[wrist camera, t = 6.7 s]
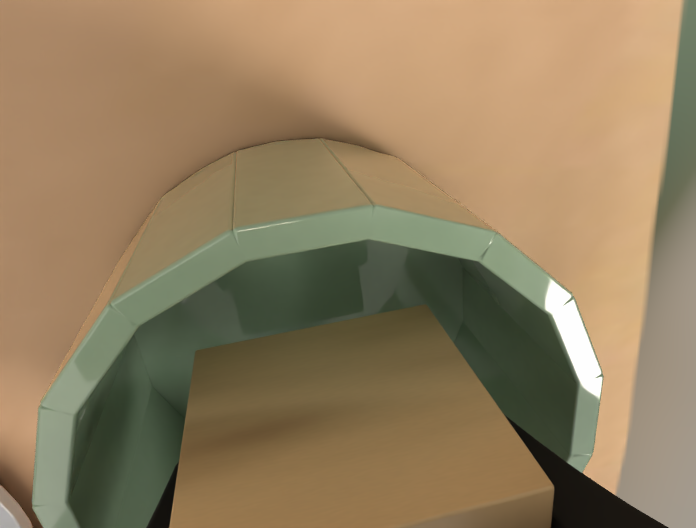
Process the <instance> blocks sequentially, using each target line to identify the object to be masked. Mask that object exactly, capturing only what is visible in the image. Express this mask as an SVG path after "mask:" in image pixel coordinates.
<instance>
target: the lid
mask: <svg viewBox="0 0 696 528" xmlns="http://www.w3.org/2000/svg"><path fill="white" fill-rule="evenodd" d="M0 528H33V526H32V524H31V521H30V519H29V518H28V516H27V515H26V514H25V512H24V511H23V509H22V508H21V506H20V505H19V503H18V502H17V501H16V500H15V499H14V498H13V497H12V496H11V495H10V494H9V493H8V492H7V491H6V490H5V489H4V487H2V486H1V485H0Z"/></svg>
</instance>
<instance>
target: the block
mask: <svg viewBox="0 0 696 528" xmlns="http://www.w3.org/2000/svg"><path fill="white" fill-rule="evenodd" d="M553 500H554V485H553V484H552V482H551V481H550V480H549V478H548V477H547V475H546V474H545V472H544V471H543V470H542V468H541V467H540V465H539V464H538V462H537V461H536V460H535V458H534V457H533V455H532V454H531V452H530V451H529V450H528V448H527V447H526V445H525V444H524V442H523V441H522V440H521V438H520V437H519V435H518V434H517V433H516V431H515V430H514V428H513V427H512V425H511V424H510V423H509V421H508V420H507V418H506V417H505V415H504V414H503V413H502V411H501V410H500V408H499V407H498V405H497V404H496V403H495V401H494V400H493V398H492V397H491V395H490V394H489V393H488V391H487V390H486V388H485V387H484V386H483V384H482V383H481V381H480V380H479V378H478V377H477V376H476V374H475V373H474V371H473V370H472V368H471V367H470V366H469V364H468V363H467V361H466V360H465V358H464V357H463V356H462V354H461V353H460V351H459V350H458V348H457V347H456V346H455V344H454V343H453V341H452V340H451V339H450V337H449V336H448V334H447V333H446V331H445V330H444V329H443V327H442V326H441V324H440V323H439V321H438V320H437V319H436V317H435V316H434V314H433V313H432V311H431V310H430V309H429V307H428V306H427V305H426V304H423V305H419V306H414V307H409V308H404V309H399V310H394V311H389V312H384V313H379V314H374V315H369V316H364V317H359V318H354V319H349V320H344V321H339V322H334V323H329V324H324V325H319V326H314V327H309V328H304V329H299V330H294V331H289V332H284V333H279V334H274V335H269V336H265V337H260V338H255V339H250V340H245V341H240V342H235V343H230V344H225V345H220V346H215V347H210V348H205V349H200V350H196V351H195V357H194V363H193V370H192V377H191V384H190V390H189V397H188V404H187V411H186V418H185V424H184V431H183V438H182V445H181V451H180V458H179V465H178V472H177V478H176V485H175V492H174V499H173V505H172V512H171V519H170V526H169V528H551V521H552V511H553Z"/></svg>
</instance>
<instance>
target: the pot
mask: <svg viewBox="0 0 696 528" xmlns="http://www.w3.org/2000/svg"><path fill="white" fill-rule="evenodd" d="M423 304H426V305H427V306H428V307H429V309H430V310H431V311H432V313H433V314H434V316H435V317H436V319H437V320H438V321H439V323H440V324H441V326H442V327H443V329H444V330H445V331H446V333H447V334H448V336H449V337H450V339H451V340H452V341H453V343H454V344H455V346H456V347H457V348H458V350H459V351H460V353H461V354H462V356H463V357H464V358H465V360H466V361H467V363H468V364H469V366H470V367H471V368H472V370H473V371H474V373H475V374H476V376H477V377H478V378H479V380H480V381H481V383H482V384H483V386H484V387H485V388H486V390H487V391H488V393H489V394H490V395H491V397H492V398H493V400H494V401H495V403H496V404H497V405H498V407H499V408H500V410H501V411H502V413H503V414H505V415H506V416H507V417H508V418H510V419H511V420H512V421H513V422H515V423H516V424H517V425H518V426H520V427H521V428H522V429H523V430H525V431H526V432H527V433H529V434H530V435H531V436H532V437H534V438H535V439H536V440H538V441H539V442H540V443H542V444H543V445H544V446H546V447H547V448H548V449H550V450H551V451H552V452H554V453H555V454H556V455H558V456H559V457H560V458H562V459H563V460H565V461H566V462H567V463H569V464H570V465H571V466H573V467H574V468H576V469H577V470H578V471H580V472H581V473H582V472H583V470H584V469H585V467H586V465H587V463H588V462H589V460H590V458H591V456H592V453H593V450H594V443H595V435H596V428H597V421H598V413H599V406H600V398H601V391H602V384H603V374H602V369H601V367H600V364H599V361H598V359H597V356H596V353H595V351H594V348H593V345H592V343H591V340H590V337H589V335H588V332H587V329H586V327H585V324H584V321H583V319H582V316H581V313H580V311H579V308H578V305H577V303H576V300H575V297H574V296H573V294H572V292H571V291H569V290H568V289H567V288H566V287H564V286H563V285H562V284H561V283H560V282H558V281H557V280H556V279H555V278H553V277H552V276H551V275H550V274H549V273H547V272H546V271H545V270H544V269H542V268H541V267H540V266H539V265H537V264H536V263H535V262H534V261H533V260H531V259H530V258H529V257H528V256H526V255H525V254H524V253H523V252H522V251H520V250H519V249H518V248H517V247H515V246H514V245H513V244H512V243H511V242H509V241H508V240H507V239H506V238H504V237H503V236H502V235H501V234H500V233H498V232H497V231H496V230H494V229H493V228H492V227H490V226H489V225H488V224H486V223H485V222H484V221H482V220H481V219H480V218H478V217H477V216H476V215H474V214H473V213H471V212H470V211H469V210H467V209H466V208H465V207H463V206H462V205H461V204H459V203H458V202H457V201H455V200H454V199H453V198H451V197H450V196H449V195H447V194H446V193H445V192H443V191H442V190H441V189H439V188H438V187H437V186H435V185H434V184H433V183H431V182H430V181H429V180H427V179H426V178H425V177H423V176H422V175H420V174H419V173H418V172H416V171H415V170H414V169H412V168H411V167H410V166H408V165H407V164H406V163H404V162H403V161H402V160H400V159H398V158H397V157H394V156H390V155H386V154H382V153H379V152H376V151H373V150H370V149H367V148H364V147H361V146H358V145H354V144H349V143H343V142H338V141H333V140H328V139H324V138H321V139H319V138H316V139H298V140H286V141H276V142H272V143H267V144H263V145H258V146H253V147H249V148H247V149H244V150H238V151H236V152H232V153H231V154H229V155H228V156H225V157H223V158H221V159H219V160H217V161H215V162H213V163H211V164H209V165H208V166H206V167H204V168H202V169H200V170H199V171H197V172H196V173H194V174H193V175H192V176H190V177H189V178H187V179H186V180H185V181H183V182H182V183H180V184H179V185H178V186H177V187H176V188H174V189H172V190H171V191H169V192H167V193H166V194H165V195H164V196H163V197H162V198H160V200H159V201H158V203H157V204H156V206H155V207H154V209H153V210H152V212H151V213H150V215H149V216H148V218H147V219H146V220H145V222H144V223H143V224H142V226H141V228H140V230H139V231H138V233H137V234H136V236H135V237H134V239H133V240H132V242H131V243H130V245H129V246H128V248H127V249H126V251H125V252H124V254H123V255H122V257H121V258H120V260H119V261H118V263H117V265H116V267H115V269H114V270H113V272H112V274H111V276H110V278H109V279H108V281H107V283H106V285H105V287H104V288H103V290H102V292H101V294H100V295H99V297H98V299H97V301H96V303H95V304H94V306H93V308H92V310H91V312H90V313H89V315H88V317H87V319H86V321H85V322H84V324H83V326H82V328H81V330H80V331H79V333H78V335H77V337H76V339H75V340H74V342H73V344H72V346H71V347H70V349H69V351H68V353H67V355H66V356H65V358H64V360H63V362H62V364H61V365H60V367H59V369H58V371H57V373H56V374H55V376H54V378H53V380H52V382H51V383H50V385H49V387H48V389H47V391H46V392H45V394H44V396H43V398H42V399H41V404H40V405H39V407H38V419H37V433H36V448H35V463H34V477H33V492H32V509H33V511H34V512H35V514H36V516H37V518H38V520H39V521H40V523H41V525H42V527H43V528H146V527H147V525H148V523H149V521H150V519H151V517H152V515H153V513H154V511H155V509H156V507H157V505H158V503H159V501H160V499H161V496H162V494H163V492H164V490H165V488H166V486H167V483H168V481H169V479H170V477H171V475H172V472H173V470H174V468H175V466H176V465H177V463H178V462H179V458H180V451H181V445H182V438H183V431H184V424H185V418H186V411H187V404H188V397H189V390H190V384H191V377H192V370H193V363H194V357H195V351H196V350H200V349H205V348H210V347H215V346H220V345H225V344H230V343H235V342H240V341H245V340H250V339H255V338H260V337H265V336H269V335H274V334H279V333H284V332H289V331H294V330H299V329H304V328H309V327H314V326H319V325H324V324H329V323H334V322H339V321H344V320H349V319H354V318H359V317H364V316H369V315H374V314H379V313H384V312H389V311H394V310H399V309H404V308H409V307H414V306H419V305H423Z"/></svg>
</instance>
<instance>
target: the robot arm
mask: <svg viewBox="0 0 696 528" xmlns="http://www.w3.org/2000/svg"><path fill="white" fill-rule="evenodd" d="M504 415H505V414H504ZM505 417H506V418H507V420H508V421H509V423H510V424H511V425H512V427H513V428H514V430H515V431H516V433H517V434H518V435H519V437H520V438H521V440H522V441H523V442H524V444H525V445H526V447H527V448H528V450H529V451H530V452H531V454H532V455H533V457H534V458H535V460H536V461H537V462H538V464H539V465H540V467H541V468H542V470H543V471H544V472H545V474H546V475H547V477H548V478H549V480H550V481H551V482H552V484H553V485H554V500H553V511H552V521H551V528H668V527H666V526H664V525H663V524H661V523H660V522H658V521H656V520H654V519H653V518H651V517H649V516H648V515H646V514H644V513H642V512H641V511H639V510H637V509H636V508H634V507H633V506H631V505H629V504H627V503H626V502H625V501H623V500H622V499H620V498H618V497H617V496H615V495H614V494H612V493H611V492H609V491H608V490H606V489H605V488H603V487H602V486H600V485H599V484H597V483H596V482H594V481H593V480H591V479H590V478H588V477H587V476H586V475H584V474H583V473H581V472H580V471H578V470H577V469H576V468H574V467H573V466H571V465H570V464H569V463H567V462H566V461H565V460H563V459H562V458H560V457H559V456H558V455H556V454H555V453H554V452H552V451H551V450H550V449H548V448H547V447H546V446H544V445H543V444H542V443H540V442H539V441H538V440H536V439H535V438H534V437H532V436H531V435H530V434H529V433H527V432H526V431H525V430H523V429H522V428H521V427H520V426H518V425H517V424H516V423H515V422H513V421H512V420H511V419H510V418H508V417H507V416H506V415H505ZM178 465H179V462H178V463H177V465H176V466H175V468H174V470H173V472H172V475H171V477H170V479H169V481H168V483H167V486H166V488H165V490H164V492H163V494H162V496H161V499H160V501H159V503H158V505H157V507H156V509H155V511H154V513H153V515H152V517H151V519H150V521H149V523H148V525H147V527H146V528H169V526H170V519H171V512H172V505H173V499H174V492H175V485H176V478H177V472H178Z"/></svg>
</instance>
